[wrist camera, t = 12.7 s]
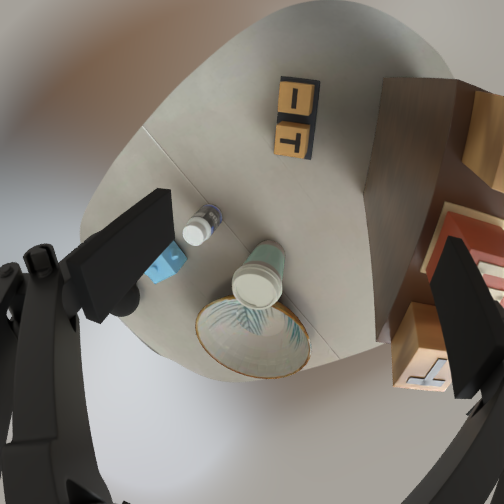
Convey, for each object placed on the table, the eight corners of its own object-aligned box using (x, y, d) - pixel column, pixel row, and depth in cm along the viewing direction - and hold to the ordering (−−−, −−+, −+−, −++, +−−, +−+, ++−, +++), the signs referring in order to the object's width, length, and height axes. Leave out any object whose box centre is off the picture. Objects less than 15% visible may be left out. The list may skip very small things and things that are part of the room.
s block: (447, 210, 16) (471, 249, 12) (501, 226, 15) (530, 266, 12) (424, 270, 19) (438, 317, 15) (476, 281, 18) (495, 326, 14)
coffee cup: (244, 234, 59) (223, 270, 50) (289, 233, 57) (276, 270, 47) (253, 272, 64) (234, 311, 54) (294, 271, 61) (283, 313, 51)
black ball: (146, 305, 79) (127, 330, 71) (116, 290, 80) (95, 314, 72) (147, 277, 73) (125, 303, 65) (114, 263, 74) (91, 286, 66)
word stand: (383, 77, 38) (492, 82, 8) (426, 89, 37) (587, 138, 7) (362, 195, 49) (375, 387, 19) (401, 204, 48) (454, 395, 18)
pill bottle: (225, 224, 59) (209, 247, 53) (203, 227, 61) (185, 248, 54) (219, 202, 57) (201, 222, 50) (197, 204, 59) (177, 224, 52)
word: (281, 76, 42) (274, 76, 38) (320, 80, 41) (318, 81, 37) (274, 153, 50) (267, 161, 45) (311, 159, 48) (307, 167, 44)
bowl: (189, 309, 75) (175, 331, 68) (253, 250, 61) (241, 274, 54) (265, 366, 79) (258, 390, 73) (339, 325, 65) (337, 353, 59)
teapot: (183, 227, 62) (165, 246, 56) (200, 250, 64) (185, 271, 58) (148, 249, 68) (130, 267, 62) (164, 269, 70) (148, 289, 64)
